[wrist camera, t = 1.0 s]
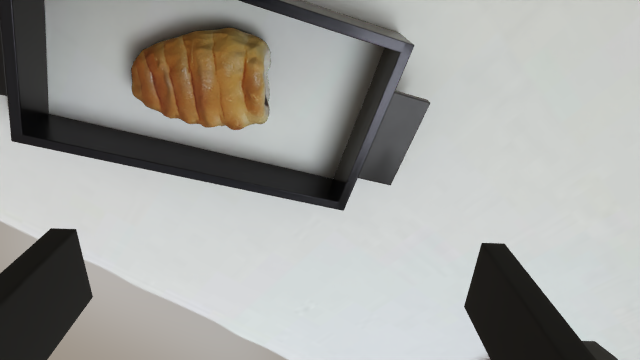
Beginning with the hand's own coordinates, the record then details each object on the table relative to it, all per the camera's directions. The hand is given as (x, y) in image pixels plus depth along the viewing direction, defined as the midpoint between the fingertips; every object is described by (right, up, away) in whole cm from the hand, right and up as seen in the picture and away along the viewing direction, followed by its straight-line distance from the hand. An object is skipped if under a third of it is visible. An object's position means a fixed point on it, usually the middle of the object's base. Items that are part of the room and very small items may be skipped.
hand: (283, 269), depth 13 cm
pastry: (-6, +11, +15) cm, 19 cm away
